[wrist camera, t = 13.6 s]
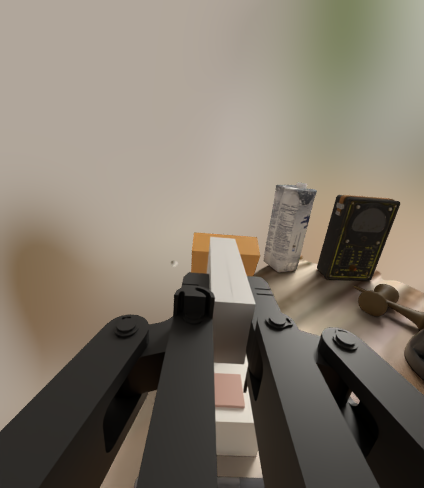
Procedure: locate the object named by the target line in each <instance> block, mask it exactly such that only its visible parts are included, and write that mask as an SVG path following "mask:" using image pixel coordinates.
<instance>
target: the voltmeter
mask: <svg viewBox="0 0 424 488" xmlns="http://www.w3.org/2000/svg"><path fill="white" fill-rule="evenodd" d="M399 206H400V202H399V201H394V200H393V199H389V198H376V197H363V196H349V195H338V196H337V197H336V201H335V204H334V208H333V212H332V215H331V219H330V222H329V226H328V229H327V233H326V236H325V241H324V244H323V247H322V251H321V254H320V258H319V262H318V265H317V269H318V270H319V271H320V272H321V273H322V274H323V275H324V276H325V278H326V279H338V280H365V281H370V280H371V279H372V277H373V274H374V271H375V269H376V266H377V264H378V261H379V258H380V256H381V253H382V250H383V248H384V245H385V242H386V240H387V237H388V235H389V232H390V230H391V227H392V224H393V221H394V219H395V217H396V214H397V211H398V209H399Z"/></svg>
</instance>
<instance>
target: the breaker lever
mask: <svg viewBox="0 0 424 488" xmlns="http://www.w3.org/2000/svg"><path fill="white" fill-rule="evenodd" d="M210 237H219V238H231V239H235V240H236V244H237V247H238V250H239V253H240V256H241V259H242V263H243V266H244V269H245V272H246V275H247V276H254V273H255V270H256V267H257V264H258V261H259V258H260V252H259V247H258V240H257V237H246V236H233V235H220V234H206V233H194V239H193V247H192V265H191V266H192V267H191V272H192V273H205V274H207V265H208V255H209V245H210Z"/></svg>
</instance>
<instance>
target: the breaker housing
mask: <svg viewBox="0 0 424 488" xmlns="http://www.w3.org/2000/svg"><path fill="white" fill-rule="evenodd" d="M247 367H248V361H247V356H246V357H245V363H244V364H227V363H214V384H215V419H216V454H217V455H227V456H257V452H258V445H257V439H256V433H255V427H254V421H253V415H252V409H251V403H250V397H249V391H248V387H247V392H246V393H243V389H244V382H245V377H246V372H247Z"/></svg>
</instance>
